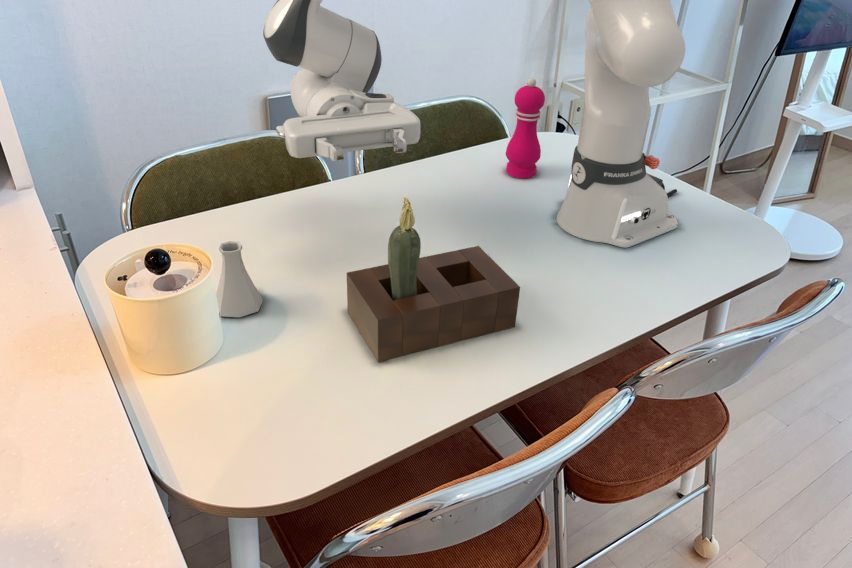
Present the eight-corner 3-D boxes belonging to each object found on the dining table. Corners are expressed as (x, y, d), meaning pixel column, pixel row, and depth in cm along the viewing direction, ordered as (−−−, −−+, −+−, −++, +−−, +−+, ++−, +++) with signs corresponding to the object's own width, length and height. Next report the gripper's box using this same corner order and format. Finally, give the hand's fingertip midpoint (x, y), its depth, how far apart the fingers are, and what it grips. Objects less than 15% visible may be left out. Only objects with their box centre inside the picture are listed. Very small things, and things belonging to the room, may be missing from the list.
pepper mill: (520, 163, 152) (531, 71, 141) (545, 174, 147) (558, 80, 136) (496, 171, 148) (506, 76, 137) (521, 182, 143) (533, 86, 132)
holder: (475, 283, 110) (478, 245, 106) (515, 327, 101) (520, 287, 97) (347, 312, 103) (346, 272, 99) (378, 362, 93) (377, 320, 89)
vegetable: (414, 338, 98) (418, 210, 87) (384, 333, 99) (384, 206, 88) (420, 320, 102) (425, 195, 91) (391, 315, 102) (392, 192, 91)
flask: (213, 322, 99) (204, 262, 94) (212, 294, 105) (202, 236, 100) (265, 315, 101) (258, 256, 96) (260, 288, 107) (254, 231, 102)
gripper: (271, 105, 102) (296, 138, 92) (399, 93, 110) (437, 122, 99) (274, 146, 106) (299, 182, 95) (398, 131, 113) (434, 163, 103)
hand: (370, 151), depth 97 cm, fingers open, 8 cm apart
